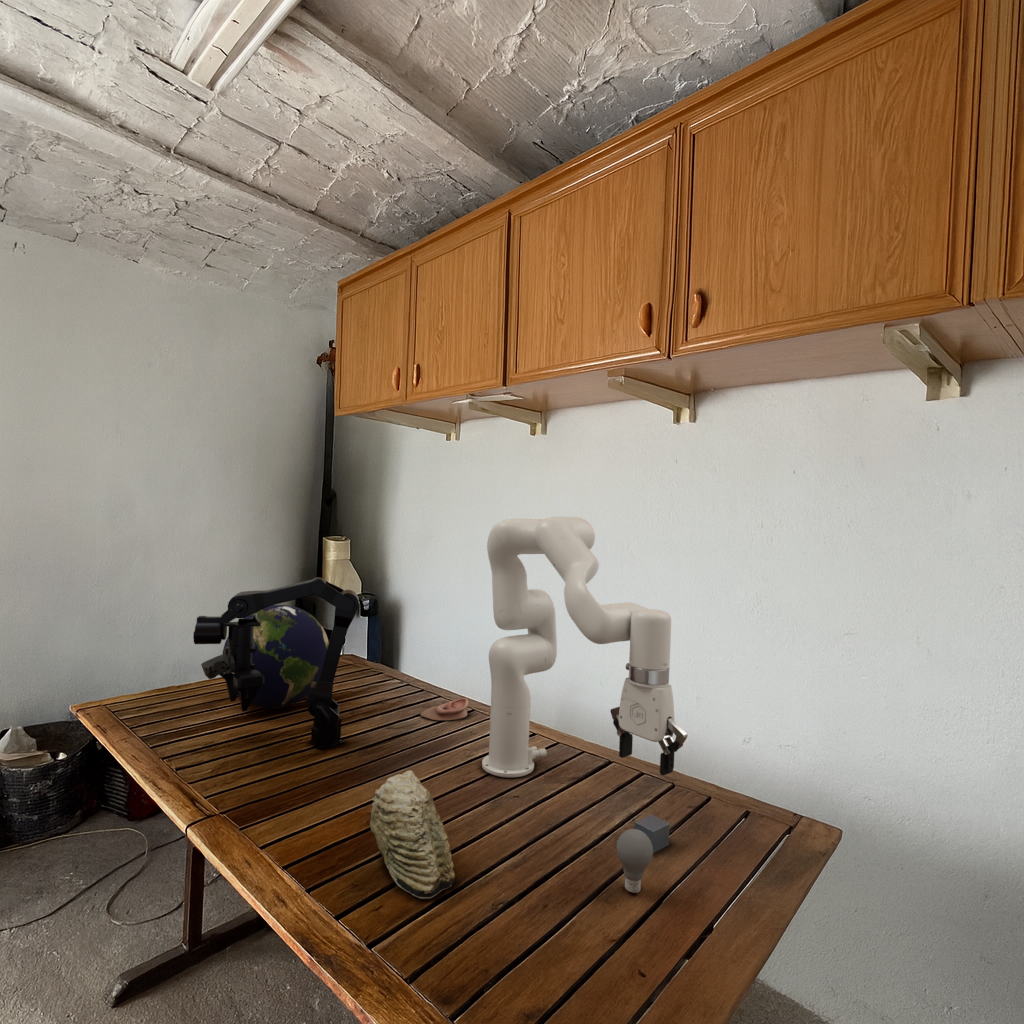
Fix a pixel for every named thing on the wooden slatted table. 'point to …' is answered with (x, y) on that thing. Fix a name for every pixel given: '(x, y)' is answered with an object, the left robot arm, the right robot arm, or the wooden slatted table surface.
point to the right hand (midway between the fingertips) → (645, 764)
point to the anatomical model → (447, 710)
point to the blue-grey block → (655, 831)
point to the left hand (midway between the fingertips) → (238, 706)
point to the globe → (286, 654)
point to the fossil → (412, 836)
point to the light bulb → (634, 857)
